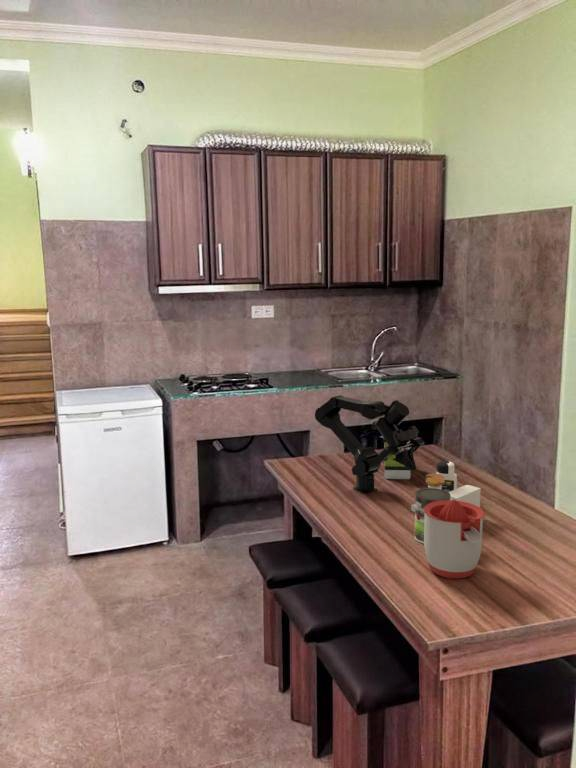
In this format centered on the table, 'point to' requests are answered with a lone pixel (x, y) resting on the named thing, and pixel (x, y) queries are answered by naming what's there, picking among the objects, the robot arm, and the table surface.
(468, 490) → the knob mount
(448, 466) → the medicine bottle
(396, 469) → the tea box
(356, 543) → the table surface
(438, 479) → the knob
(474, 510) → the citrus juicer
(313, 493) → the table surface
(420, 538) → the coffee can
